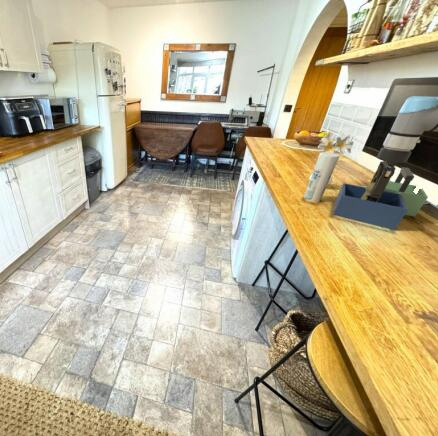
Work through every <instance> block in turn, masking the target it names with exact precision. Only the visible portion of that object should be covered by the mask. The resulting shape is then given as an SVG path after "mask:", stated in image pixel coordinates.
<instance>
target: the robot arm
mask: <svg viewBox="0 0 438 436" xmlns="http://www.w3.org/2000/svg"><path fill="white" fill-rule="evenodd" d="M424 132H437V133H438V96H427V95H426V96H423V95H413V96H412V95H411V96H409V97H408V98H406V100H405V102H404V103H403V104H402V106H401V108H400V110H399V111H398V114H397V116H396V118H395V120H394V122H393V124H392V127H391V128H390V131H389V132H388V133H387V135H386V137H385V139H384V141H383V144H382V147H381V148H380V150H379V151H378V154H377V156H376V157H377V159H378V160H380V162H379V164H378V166H377V168H376V170H375V172H374V174H373V176H372V178H371V180H370V182H369V183H372V182H374V183H375V184H374V186H373V189H372V191H371V193H370V195H366V197H367V199H366V200H368V201H373V202H376V201H377V199H380V198H381V195H382V193H383V191H384V190H385V188H386V186H387V184H388V182H389V181H391V179H392V177H393V175H395V171H396V167H395V166H396V164H404V163H406V162H408V159H409V158H410V156H411V154H412V150H414V148H415V147H416V145H417V144H420V143H421V139H420V138H421V137H422V135H423V134H424Z"/></svg>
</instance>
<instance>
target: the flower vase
mask: <svg viewBox="0 0 438 436" xmlns="http://www.w3.org/2000/svg"><path fill="white" fill-rule="evenodd" d="M335 136H336V135H335V133H334V132H332V133H331V132H330V131H329V132H328V133H326V135H325V136H324V137H322V138H321V139H320V140H318V142H319V144H318V145H317V149H320V150H323V151H322V152H330V153H335V154H337V152H338V151H339V153H340V154H341V155H345V152H346V151H347V153H348V154H351V153H352V148H353V145H354V144H355V143H354V141H353V139H354V136H351V134H346V135H344V132H343V131H339V136H337V137H335ZM345 149H346V150H345ZM311 176H312V174H311V175H310V176H309V178H308V180H309V181H310V179H311ZM332 183H333V177H332V176H331V177H330V180H329V182H328V184H327V187H328V186H329V185H331V184H332Z"/></svg>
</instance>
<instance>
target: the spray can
mask: <svg viewBox="0 0 438 436" xmlns="http://www.w3.org/2000/svg"><path fill="white" fill-rule="evenodd" d="M339 159H340V155H339V153H330V152H323V151H321V152H320V153H319V154H318V157H317V160H316V162H315V165H314V168H313V171H312V173H311V175H312V176H311V175H310V176H311V179H310V180H309V182H308V185H307V187H306V190H305V192H304V195H303V198H304V199H305V200H306V201H308V202H314V203H318V202H321V200H322V198H323V196H324V193H325V191H326V189H327V187H328V186H327V184H328V182H329V180H330V177H332V175H333V173H334V170H335V168H336V165H337V163H338V161H339Z"/></svg>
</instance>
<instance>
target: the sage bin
mask: <svg viewBox="0 0 438 436" xmlns="http://www.w3.org/2000/svg"><path fill="white" fill-rule="evenodd" d="M399 171H400V172H399V173H398V174H397V177H396V178H395V180H394V181H391V180H389V182H388V184H387V186H386V188H385V191H387V192H392V193H397V194H401V195H402V197H403V200H404V202H405V204H406V207H407V209H408V210H407V212H406V214H405V215H404V216H409V217H414V218H415V217H416V216H417V215H418V213H419V211H420V210H421V208H422V207H423V206H424V204H425V202H426V201H427V199H428V198H429V196H428V195H427V194H426V192H425V190H424V188H422V189H419V191H418V193H417V194H415V193H414V192H413V191H414V189H415V188H416V186H417V185H414V184H411V182H412V181H413V180H414V178H415V175H414V173H413V172H412V171H411V169H410V168H409V167H406V166H405V167H404V166H402V167H401V168H400V170H399ZM403 179H404V181H403ZM402 181H403V182H402Z"/></svg>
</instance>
